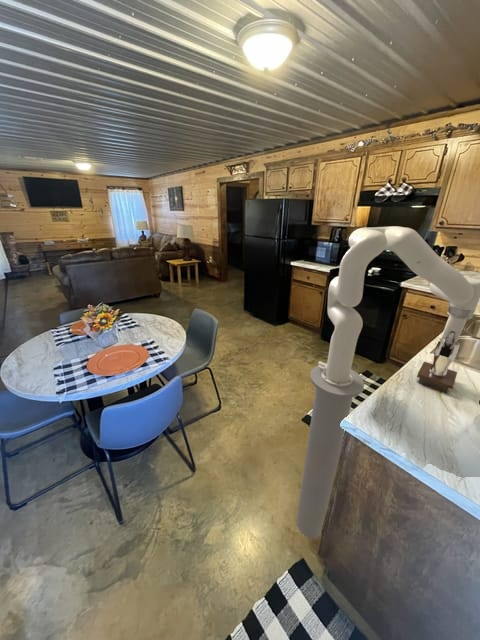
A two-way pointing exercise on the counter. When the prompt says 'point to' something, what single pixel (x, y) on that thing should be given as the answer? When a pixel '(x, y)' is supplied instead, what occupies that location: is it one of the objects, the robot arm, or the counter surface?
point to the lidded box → (436, 378)
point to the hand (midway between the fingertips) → (445, 352)
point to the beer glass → (443, 359)
